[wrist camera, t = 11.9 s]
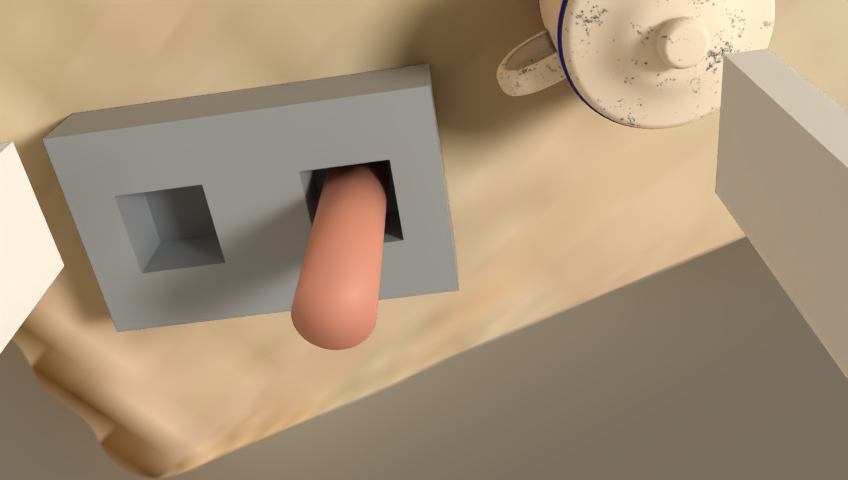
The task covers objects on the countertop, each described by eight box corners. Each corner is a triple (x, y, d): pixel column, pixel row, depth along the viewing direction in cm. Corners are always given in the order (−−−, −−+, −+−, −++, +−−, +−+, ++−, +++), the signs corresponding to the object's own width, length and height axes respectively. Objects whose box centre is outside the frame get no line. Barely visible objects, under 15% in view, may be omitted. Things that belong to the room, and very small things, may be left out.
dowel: (320, 154, 45) (282, 284, 33) (382, 145, 45) (368, 273, 33) (332, 210, 47) (301, 354, 35) (393, 202, 47) (383, 344, 35)
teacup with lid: (675, -144, 39) (768, -128, 28) (733, 25, 42) (833, 94, 32) (453, -23, 41) (463, 31, 31) (525, 126, 45) (556, 218, 35)
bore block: (72, 113, 45) (42, 139, 41) (429, 63, 43) (429, 85, 40) (138, 295, 50) (117, 331, 47) (456, 255, 49) (459, 290, 45)
